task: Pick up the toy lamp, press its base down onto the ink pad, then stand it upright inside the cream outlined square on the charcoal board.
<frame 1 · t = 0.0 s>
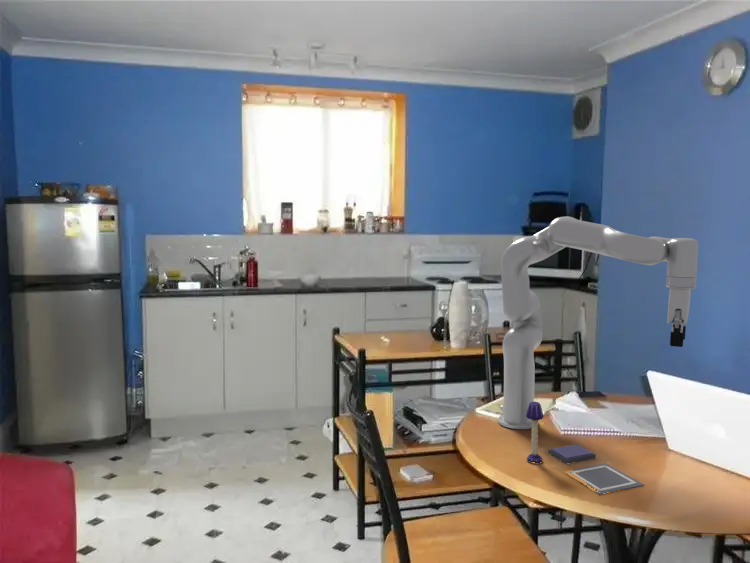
hand: (677, 342, 182), 31 cm above the table, tool pointing down, fingers open, 9 cm apart
marked board: (602, 478, 166), on the table
toy lamp: (533, 461, 178), on the table
ink pad: (571, 455, 181), on the table
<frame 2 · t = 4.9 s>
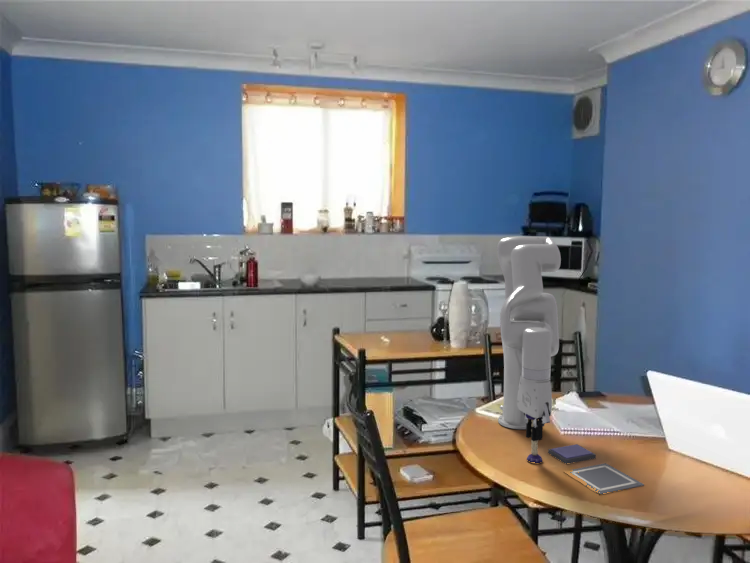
hand: (534, 438, 177), 7 cm above the table, tool pointing down, fingers closed on toy lamp
toy lamp: (533, 461, 178), on the table, touching gripper
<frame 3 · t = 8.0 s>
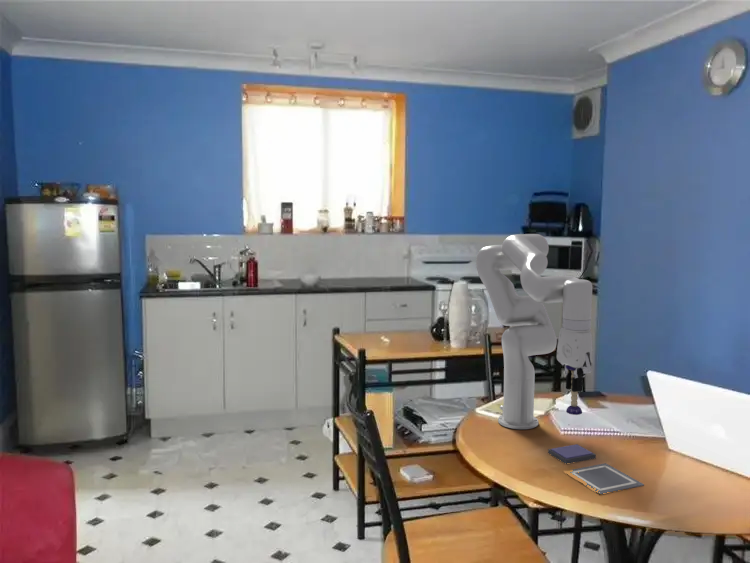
hand: (574, 389, 178), 19 cm above the table, tool pointing down, fingers closed on toy lamp
toy lamp: (573, 413, 179), point 12 cm above the table, touching gripper
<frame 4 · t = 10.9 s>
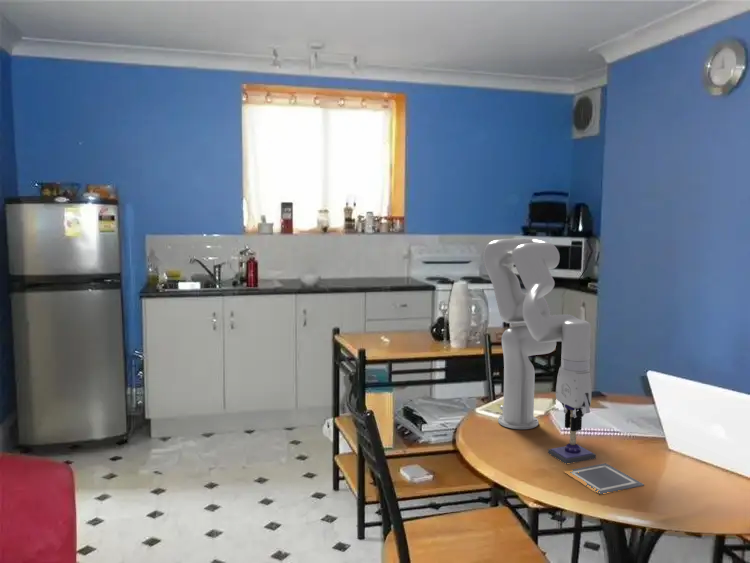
hand: (573, 428, 180), 8 cm above the table, tool pointing down, fingers closed on toy lamp
toy lamp: (571, 451, 181), point 1 cm above the table, touching gripper, ink pad
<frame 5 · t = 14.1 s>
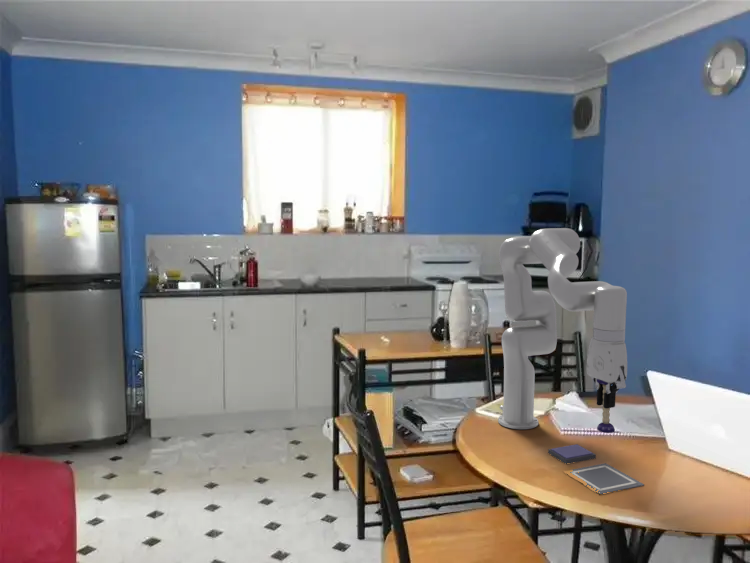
hand: (605, 405, 164), 20 cm above the table, tool pointing down, fingers closed on toy lamp
toy lamp: (604, 430, 165), point 13 cm above the table, touching gripper
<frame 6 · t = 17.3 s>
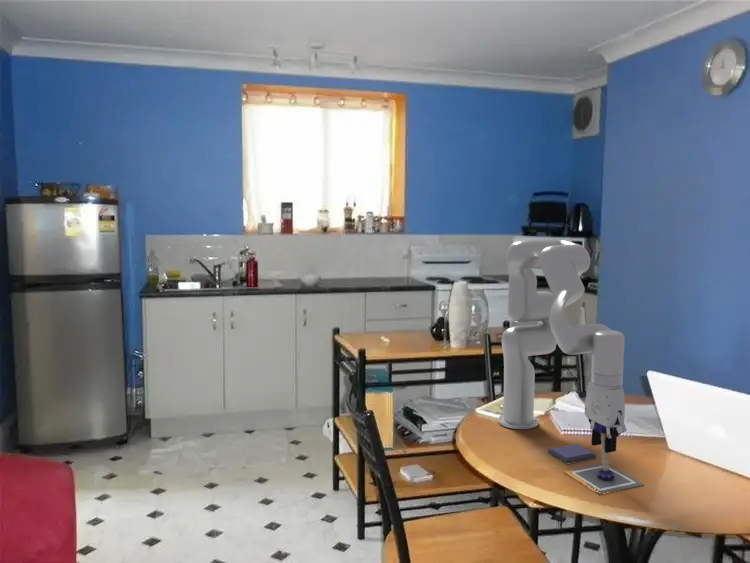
hand: (603, 447, 165), 8 cm above the table, tool pointing down, fingers open, 4 cm apart
toy lamp: (604, 478, 166), resting on marked board
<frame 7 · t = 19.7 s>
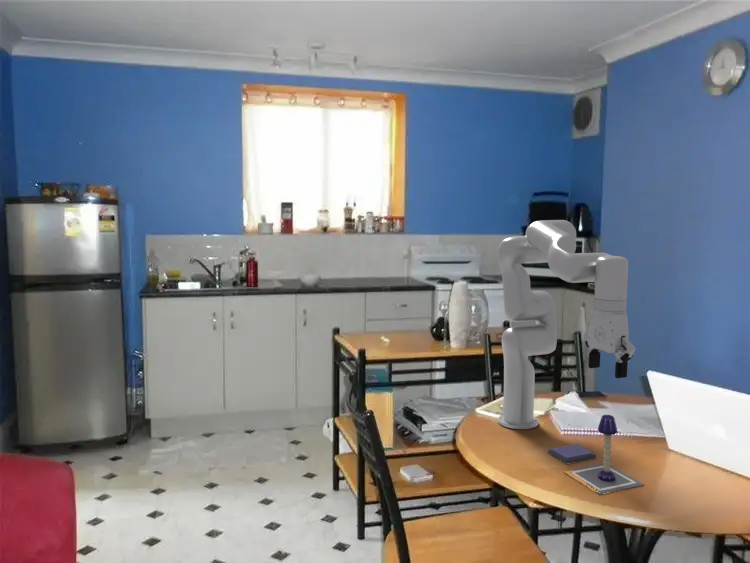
hand: (607, 372, 163), 28 cm above the table, tool pointing down, fingers open, 9 cm apart
toy lamp: (605, 479, 166), resting on marked board
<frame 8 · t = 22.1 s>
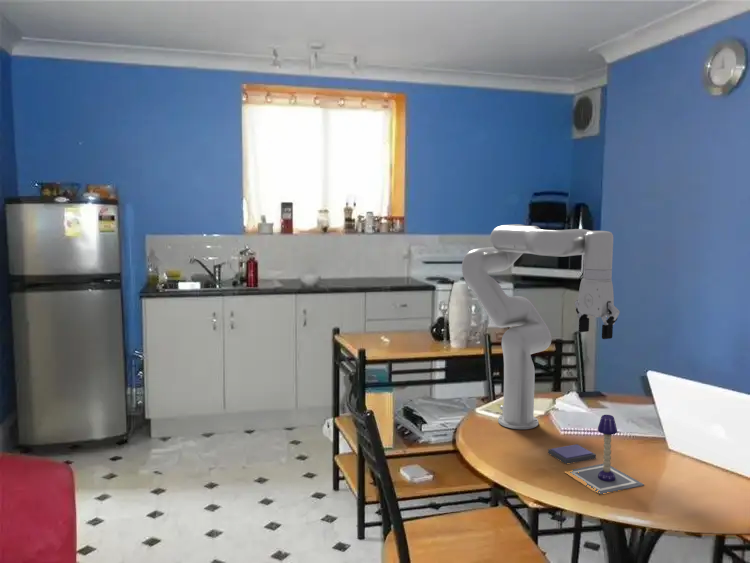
hand: (595, 335, 182), 33 cm above the table, tool pointing down, fingers open, 9 cm apart
nothing on the table moved.
at the end: toy lamp 0.7 cm off-centre on the marked board, point 0.1 cm above the marked board's base; toy lamp tilted 0°; the gripper is holding nothing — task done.
